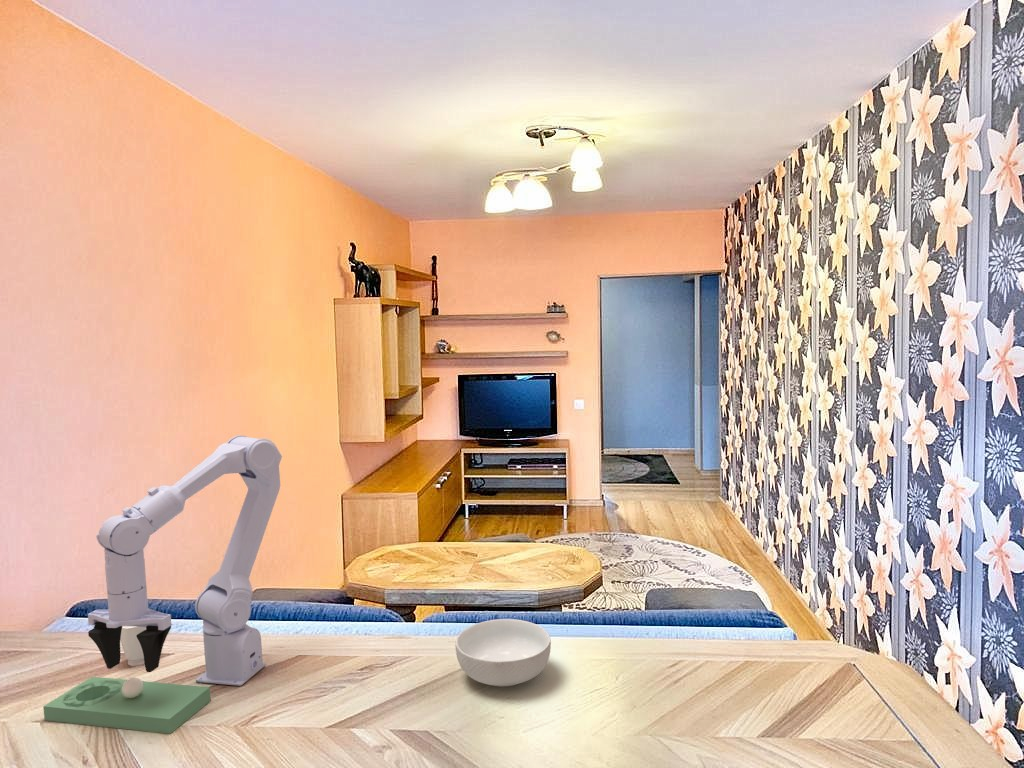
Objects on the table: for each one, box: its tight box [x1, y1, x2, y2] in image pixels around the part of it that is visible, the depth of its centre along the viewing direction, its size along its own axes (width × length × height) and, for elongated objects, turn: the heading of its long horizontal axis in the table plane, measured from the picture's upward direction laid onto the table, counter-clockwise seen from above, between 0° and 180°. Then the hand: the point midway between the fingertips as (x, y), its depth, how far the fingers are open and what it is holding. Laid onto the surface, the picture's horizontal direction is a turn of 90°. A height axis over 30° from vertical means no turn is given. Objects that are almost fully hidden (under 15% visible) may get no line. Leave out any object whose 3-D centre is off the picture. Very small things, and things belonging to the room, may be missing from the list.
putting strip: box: [43, 676, 212, 735], centre depth 118 cm, size 24×10×2 cm, turn 77°
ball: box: [122, 677, 143, 698], centre depth 117 cm, size 3×3×3 cm
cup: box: [120, 626, 146, 667], centre depth 137 cm, size 7×10×8 cm
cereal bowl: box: [454, 618, 552, 688], centre depth 125 cm, size 17×17×7 cm
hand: (133, 667), depth 117 cm, fingers open, 7 cm apart
